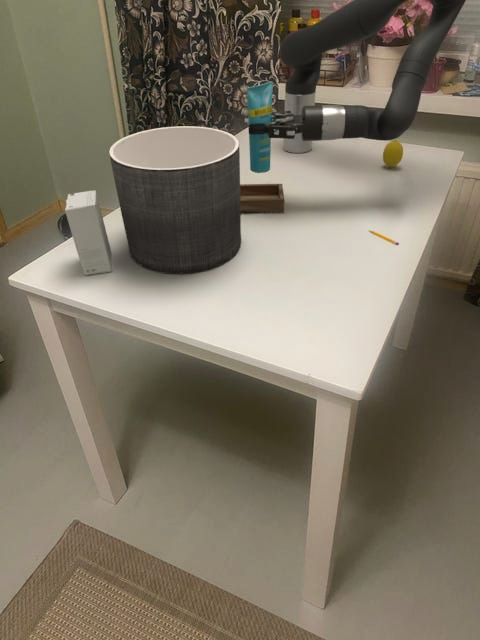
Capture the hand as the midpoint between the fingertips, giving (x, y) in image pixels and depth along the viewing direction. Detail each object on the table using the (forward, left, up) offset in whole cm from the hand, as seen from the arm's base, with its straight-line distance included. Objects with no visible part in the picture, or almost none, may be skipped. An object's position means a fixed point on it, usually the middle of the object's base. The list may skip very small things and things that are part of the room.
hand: (249, 125), depth 109 cm
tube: (0, +3, -11) cm, 11 cm away
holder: (0, +2, -20) cm, 20 cm away
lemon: (-24, +41, -20) cm, 52 cm away
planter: (+20, -15, -20) cm, 32 cm away
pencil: (+18, +30, -20) cm, 40 cm away
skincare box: (+28, -33, -20) cm, 47 cm away
